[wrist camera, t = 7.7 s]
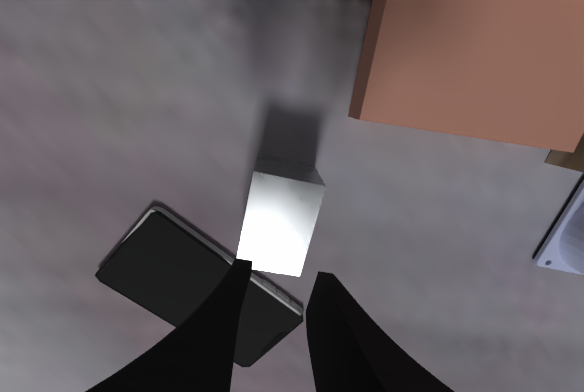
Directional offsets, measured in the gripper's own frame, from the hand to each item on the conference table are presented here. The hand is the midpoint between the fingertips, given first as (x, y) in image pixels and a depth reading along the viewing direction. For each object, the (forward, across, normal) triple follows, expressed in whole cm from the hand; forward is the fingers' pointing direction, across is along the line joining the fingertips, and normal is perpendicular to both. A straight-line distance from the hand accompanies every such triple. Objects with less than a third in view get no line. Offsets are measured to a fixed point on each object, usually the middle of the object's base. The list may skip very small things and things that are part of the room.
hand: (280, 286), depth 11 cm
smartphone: (+10, +4, +9) cm, 14 cm away
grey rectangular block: (+10, 0, 0) cm, 10 cm away
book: (+10, -10, -11) cm, 18 cm away
